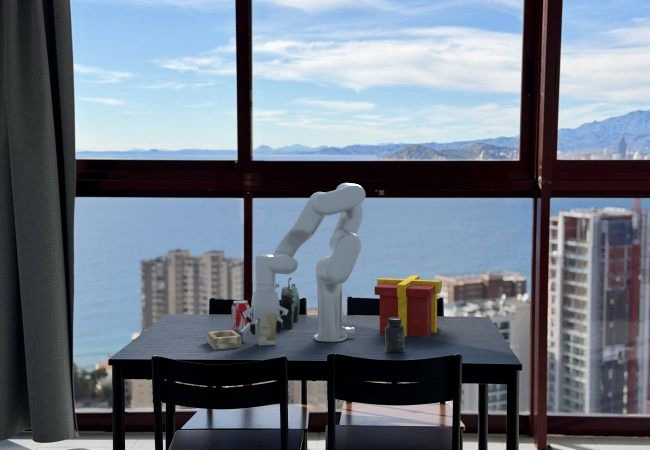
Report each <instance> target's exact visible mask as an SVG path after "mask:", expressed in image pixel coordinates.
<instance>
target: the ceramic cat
mask: <svg viewBox="0 0 650 450" xmlns="http://www.w3.org/2000/svg"><path fill="white" fill-rule="evenodd" d="M292 279H293V278H292V277H289V278H288V280H287V281H288V283H287V284H288V286H283V287H282V288H281V292H280V293H281V294H280V304H281V305H280V306H281V307H283V308H285V309H287V310H288V313H287V315H286V317H285V319H284V320H283V322H282V329H283V330H292V329H293V327H294V323H296V322H297V323H298V322H299V315H300V304H301V301H300V294H299V290H298V288H297V287H296V284H295V283H292V284H290V282H291V280H292ZM282 314H283V311H282V310H281V315H282Z"/></svg>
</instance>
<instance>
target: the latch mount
mask: <svg viewBox="0 0 650 450" xmlns="http://www.w3.org/2000/svg"><path fill="white" fill-rule="evenodd" d="M234 331H235V332H236V333H237V334H239V335H240V336H241V344H244V343H245V341H244V335H243V332H240V330H239V329H236V330H234Z"/></svg>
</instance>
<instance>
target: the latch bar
mask: <svg viewBox="0 0 650 450" xmlns="http://www.w3.org/2000/svg"><path fill="white" fill-rule="evenodd" d="M254 324H255V325H256V324H258V319H257V320H256V321H255V323H254ZM240 332H243V336H245V335H246V334H247V332H250V323H248V324H247V325H246V326H245V327H244V328H243V329H242V330H241V331H240Z"/></svg>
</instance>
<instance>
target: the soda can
mask: <svg viewBox="0 0 650 450" xmlns="http://www.w3.org/2000/svg"><path fill="white" fill-rule="evenodd" d="M248 302H249V301H248V300H246V299H245V300H243V299H240V300H238V299H237V300H233V302H232V305H231V328H232V329H231V330H236V329H239V330H240V331H241V330H242V329H243V328H244V327H245V326H246V325H247V324H248V323H249V322H248V321H247V320H246V319H245V317H244V315H243V312H244V311H246V310H248V309H249V308H250V305H249V304H250V303H248ZM250 315H251V313H249V314H248V317H249V318H250V319H251V317H250Z"/></svg>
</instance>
